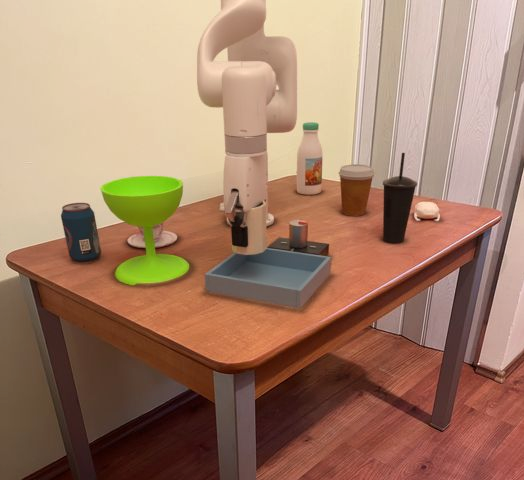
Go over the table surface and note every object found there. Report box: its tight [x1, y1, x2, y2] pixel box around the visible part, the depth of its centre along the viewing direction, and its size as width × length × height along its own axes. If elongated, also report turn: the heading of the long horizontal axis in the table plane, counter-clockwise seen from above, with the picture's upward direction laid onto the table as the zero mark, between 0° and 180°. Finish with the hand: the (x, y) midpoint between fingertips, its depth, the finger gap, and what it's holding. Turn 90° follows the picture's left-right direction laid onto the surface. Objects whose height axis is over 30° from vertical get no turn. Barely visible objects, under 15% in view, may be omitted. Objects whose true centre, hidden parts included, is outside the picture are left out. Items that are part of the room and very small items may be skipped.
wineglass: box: [99, 175, 190, 286], centre depth 110 cm, size 16×16×18 cm
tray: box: [204, 247, 332, 309], centre depth 107 cm, size 20×18×4 cm
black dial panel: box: [266, 236, 330, 256], centre depth 119 cm, size 12×8×3 cm
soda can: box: [60, 202, 102, 265], centre depth 118 cm, size 7×7×12 cm
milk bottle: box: [296, 121, 323, 196], centre depth 163 cm, size 8×8×20 cm
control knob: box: [288, 219, 309, 248], centre depth 117 cm, size 4×4×5 cm
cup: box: [230, 201, 267, 255], centre depth 104 cm, size 7×7×9 cm
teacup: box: [126, 222, 178, 249], centre depth 130 cm, size 12×12×6 cm
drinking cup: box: [382, 152, 418, 244], centre depth 124 cm, size 8×8×20 cm
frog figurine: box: [413, 201, 441, 222], centre depth 143 cm, size 8×7×4 cm
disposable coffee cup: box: [338, 163, 376, 217], centre depth 145 cm, size 10×10×12 cm
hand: (248, 238), depth 106 cm, fingers closed on cup, 6 cm apart
